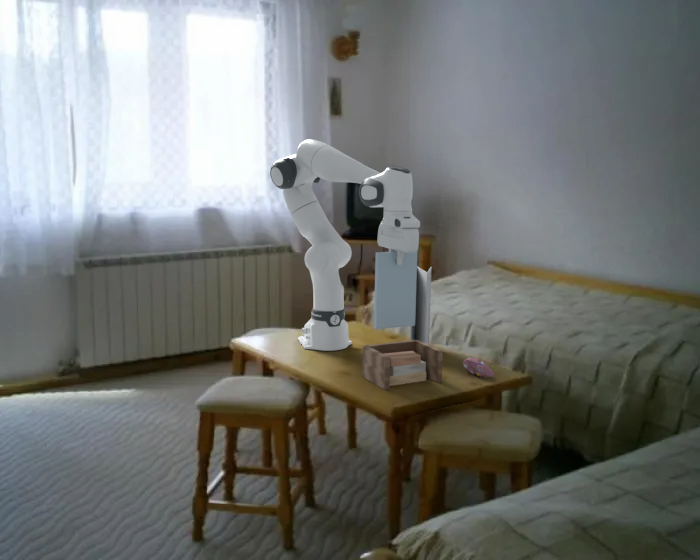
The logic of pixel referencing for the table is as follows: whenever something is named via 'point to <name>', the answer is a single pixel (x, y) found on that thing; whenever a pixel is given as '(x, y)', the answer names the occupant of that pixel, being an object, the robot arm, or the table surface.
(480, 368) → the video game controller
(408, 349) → the rack
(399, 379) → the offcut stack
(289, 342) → the table surface
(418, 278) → the brochure
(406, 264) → the sheet
